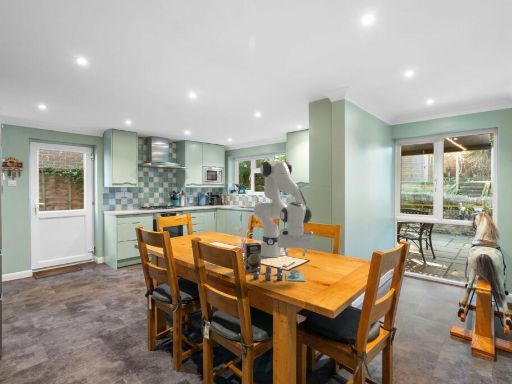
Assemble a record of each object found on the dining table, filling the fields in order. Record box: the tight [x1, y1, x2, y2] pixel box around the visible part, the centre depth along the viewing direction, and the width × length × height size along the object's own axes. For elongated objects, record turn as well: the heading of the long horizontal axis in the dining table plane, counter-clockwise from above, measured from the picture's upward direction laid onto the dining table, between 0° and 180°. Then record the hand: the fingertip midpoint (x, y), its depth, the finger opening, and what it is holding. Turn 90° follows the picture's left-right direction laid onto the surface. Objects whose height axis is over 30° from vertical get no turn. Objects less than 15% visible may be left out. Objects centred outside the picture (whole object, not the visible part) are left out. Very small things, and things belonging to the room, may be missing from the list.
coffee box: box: [243, 242, 262, 273], centre depth 159 cm, size 9×6×16 cm
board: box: [285, 272, 306, 283], centre depth 147 cm, size 12×10×1 cm
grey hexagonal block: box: [289, 269, 301, 278], centre depth 147 cm, size 6×5×3 cm
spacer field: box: [252, 265, 284, 282], centre depth 148 cm, size 15×16×4 cm
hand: (295, 255), depth 148 cm, fingers open, 8 cm apart
